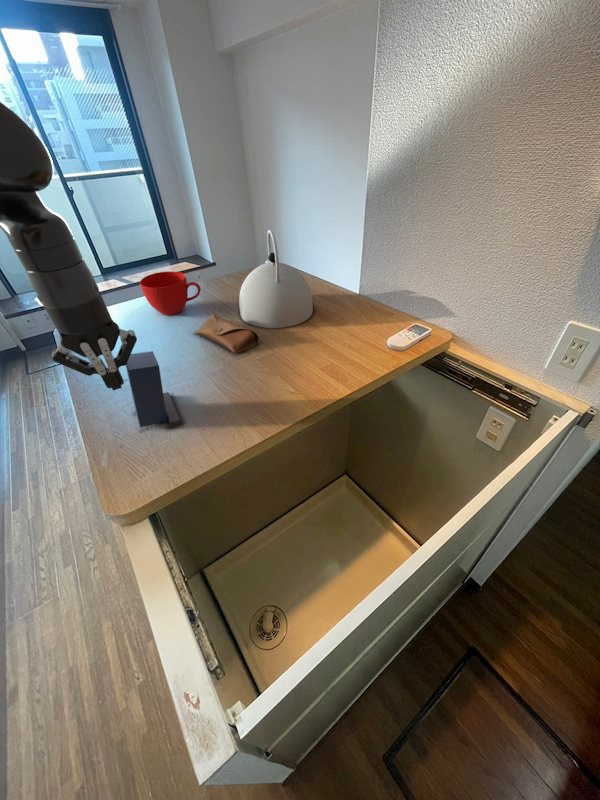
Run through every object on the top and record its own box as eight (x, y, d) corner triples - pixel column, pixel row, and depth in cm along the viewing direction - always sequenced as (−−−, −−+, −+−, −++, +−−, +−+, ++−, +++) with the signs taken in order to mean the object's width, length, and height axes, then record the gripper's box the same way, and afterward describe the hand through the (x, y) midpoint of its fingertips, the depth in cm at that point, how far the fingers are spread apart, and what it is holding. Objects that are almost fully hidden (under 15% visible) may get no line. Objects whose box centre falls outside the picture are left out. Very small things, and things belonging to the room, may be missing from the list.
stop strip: (171, 427, 64) (169, 423, 63) (160, 398, 70) (158, 394, 70) (181, 423, 65) (180, 419, 64) (169, 395, 71) (168, 391, 70)
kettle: (237, 296, 110) (227, 222, 96) (303, 290, 114) (302, 217, 99) (242, 331, 92) (230, 247, 77) (320, 323, 95) (323, 240, 80)
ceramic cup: (200, 320, 98) (192, 287, 91) (144, 320, 98) (132, 288, 91) (209, 301, 107) (202, 270, 101) (158, 302, 108) (148, 271, 101)
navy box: (140, 427, 63) (127, 370, 55) (135, 410, 67) (123, 354, 59) (167, 421, 65) (159, 365, 58) (161, 405, 69) (152, 351, 61)
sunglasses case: (192, 332, 91) (197, 309, 89) (211, 335, 97) (216, 313, 95) (236, 354, 82) (243, 328, 80) (254, 356, 88) (261, 332, 86)
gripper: (115, 277, 52) (150, 365, 64) (19, 296, 48) (75, 387, 59) (122, 293, 47) (158, 386, 59) (15, 316, 43) (77, 412, 54)
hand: (116, 386), depth 59 cm, fingers closed
